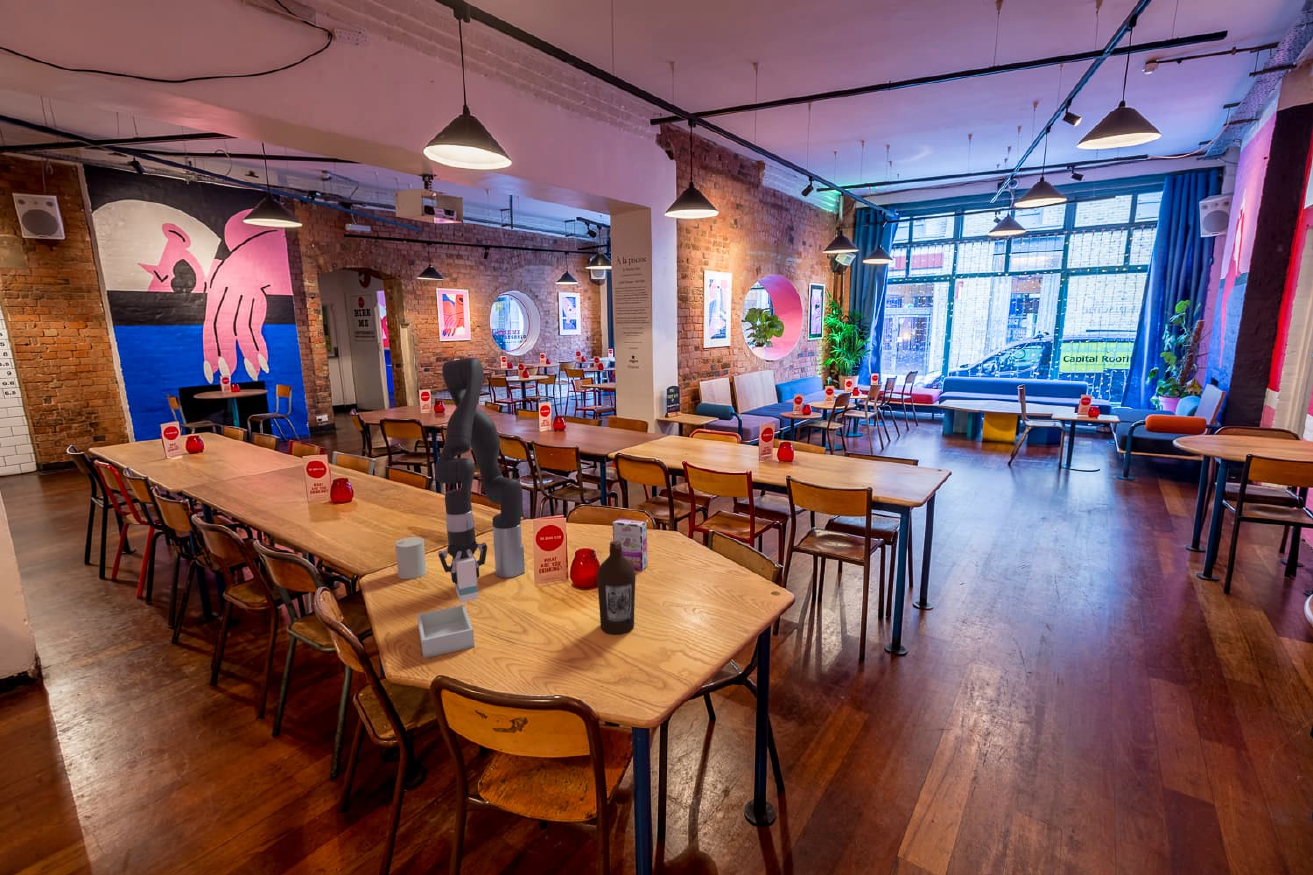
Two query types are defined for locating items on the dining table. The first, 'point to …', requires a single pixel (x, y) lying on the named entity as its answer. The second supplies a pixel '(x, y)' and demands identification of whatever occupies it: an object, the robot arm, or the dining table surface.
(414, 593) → the dining table surface
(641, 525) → the candy bar box
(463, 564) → the carton
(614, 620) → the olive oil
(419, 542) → the can
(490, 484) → the robot arm
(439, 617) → the tray
